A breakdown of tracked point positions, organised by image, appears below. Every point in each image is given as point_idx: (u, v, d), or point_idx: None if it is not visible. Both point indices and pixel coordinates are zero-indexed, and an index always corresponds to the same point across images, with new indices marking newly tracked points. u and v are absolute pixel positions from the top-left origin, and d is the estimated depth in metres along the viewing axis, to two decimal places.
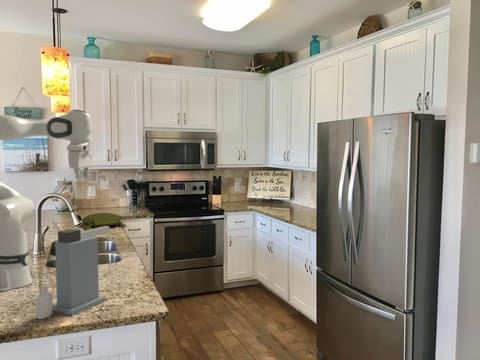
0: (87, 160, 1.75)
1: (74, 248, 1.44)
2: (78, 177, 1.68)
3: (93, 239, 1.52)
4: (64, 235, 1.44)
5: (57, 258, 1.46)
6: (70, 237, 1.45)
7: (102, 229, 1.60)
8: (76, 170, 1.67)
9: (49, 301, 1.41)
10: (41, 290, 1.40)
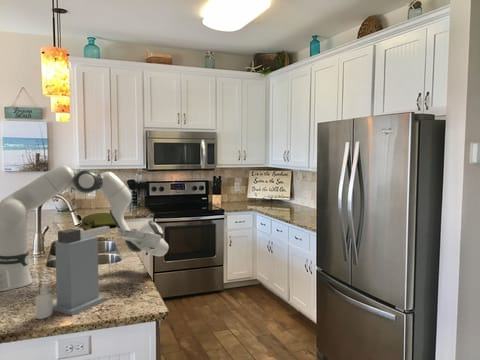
0: (132, 239, 1.81)
1: (74, 248, 1.44)
2: (136, 233, 1.72)
3: (93, 239, 1.52)
4: (64, 235, 1.44)
5: (57, 258, 1.46)
6: (70, 237, 1.45)
7: (102, 229, 1.60)
8: (143, 234, 1.74)
9: (49, 301, 1.41)
10: (41, 290, 1.40)
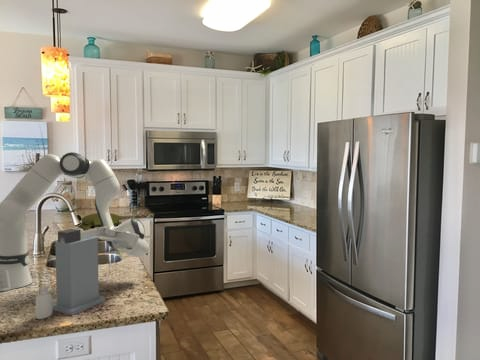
0: (108, 239, 1.68)
1: (74, 248, 1.44)
2: (106, 231, 1.60)
3: (93, 239, 1.52)
4: (64, 235, 1.44)
5: (57, 258, 1.46)
6: (70, 237, 1.45)
7: (102, 229, 1.60)
8: (113, 233, 1.62)
9: (49, 301, 1.41)
10: (41, 290, 1.40)
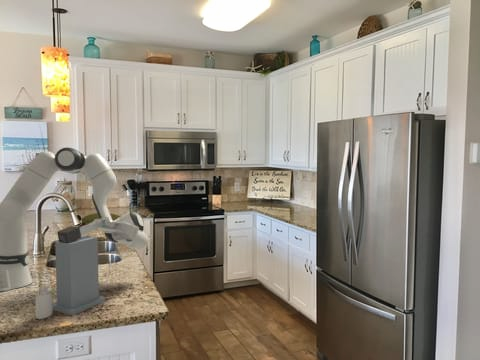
0: (108, 230, 1.67)
1: (74, 248, 1.44)
2: (106, 222, 1.60)
3: (93, 239, 1.52)
4: (64, 236, 1.44)
5: (57, 258, 1.46)
6: (70, 236, 1.45)
7: (101, 221, 1.60)
8: (113, 224, 1.62)
9: (49, 301, 1.41)
10: (41, 290, 1.40)
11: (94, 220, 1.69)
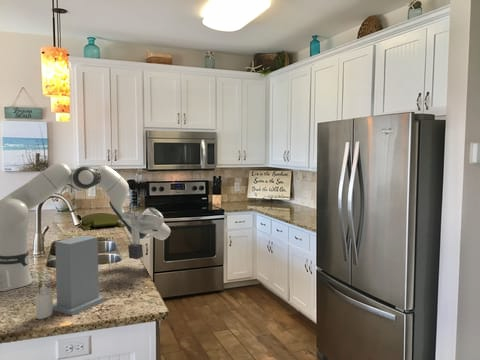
0: None
1: (74, 248, 1.44)
2: (136, 214, 1.81)
3: (93, 239, 1.52)
4: None
5: (57, 258, 1.46)
6: (139, 255, 1.85)
7: (135, 220, 1.83)
8: (142, 216, 1.83)
9: (49, 301, 1.41)
10: (41, 290, 1.40)
11: (124, 212, 1.90)
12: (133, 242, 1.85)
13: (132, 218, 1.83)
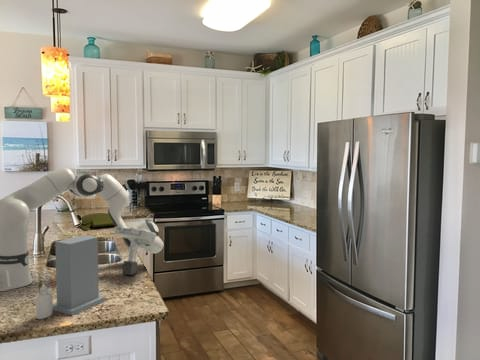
0: (129, 236, 1.92)
1: (74, 248, 1.44)
2: (132, 230, 1.83)
3: (93, 239, 1.52)
4: (130, 274, 1.88)
5: (57, 258, 1.46)
6: (133, 271, 1.89)
7: None
8: (138, 232, 1.85)
9: (49, 301, 1.41)
10: (41, 290, 1.40)
11: None
12: (129, 258, 1.90)
13: None
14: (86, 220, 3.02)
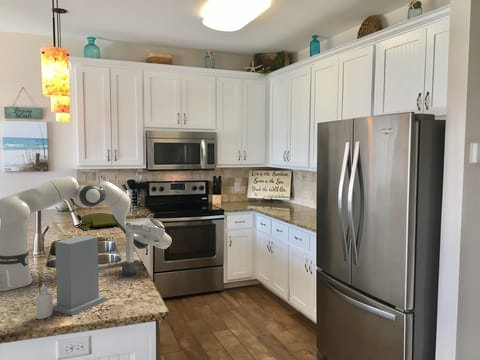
0: (138, 233, 1.98)
1: (74, 248, 1.44)
2: (143, 227, 1.89)
3: (93, 239, 1.52)
4: None
5: (57, 258, 1.46)
6: (132, 272, 1.88)
7: (130, 238, 1.88)
8: (148, 228, 1.91)
9: (49, 301, 1.41)
10: (41, 290, 1.40)
11: None
12: (127, 260, 1.89)
13: (127, 236, 1.88)
14: (86, 220, 3.01)
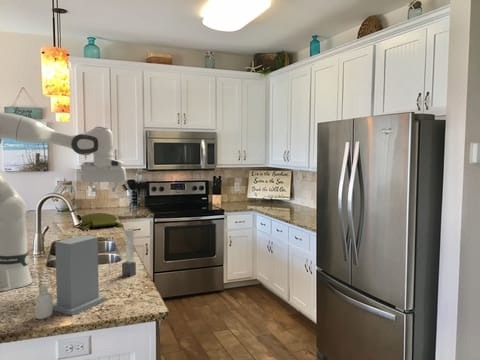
0: None
1: (74, 248, 1.44)
2: None
3: (93, 239, 1.52)
4: None
5: (57, 258, 1.46)
6: (132, 272, 1.88)
7: (130, 238, 1.88)
8: (118, 183, 1.82)
9: (49, 301, 1.41)
10: (41, 290, 1.40)
11: (83, 181, 1.80)
12: (127, 260, 1.89)
13: (127, 236, 1.88)
14: (85, 220, 3.01)
